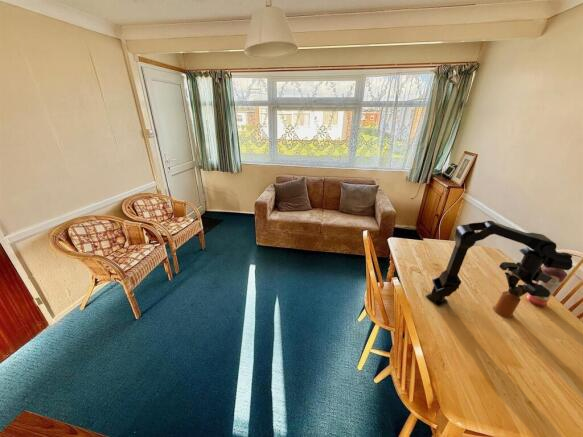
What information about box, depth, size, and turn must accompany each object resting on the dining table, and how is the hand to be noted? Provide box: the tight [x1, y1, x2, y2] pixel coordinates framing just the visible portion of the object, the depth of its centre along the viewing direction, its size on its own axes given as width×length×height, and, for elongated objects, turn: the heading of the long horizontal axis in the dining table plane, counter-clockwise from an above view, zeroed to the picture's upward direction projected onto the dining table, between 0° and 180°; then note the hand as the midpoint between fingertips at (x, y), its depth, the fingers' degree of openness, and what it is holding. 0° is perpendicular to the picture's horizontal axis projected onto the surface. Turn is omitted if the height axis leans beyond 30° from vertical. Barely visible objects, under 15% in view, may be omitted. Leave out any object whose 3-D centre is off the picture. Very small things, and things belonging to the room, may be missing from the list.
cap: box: [507, 285, 518, 296], centre depth 98 cm, size 4×4×2 cm
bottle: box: [493, 290, 522, 318], centre depth 101 cm, size 6×6×13 cm
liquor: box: [526, 251, 568, 307], centre depth 102 cm, size 7×7×28 cm
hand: (514, 293), depth 99 cm, fingers closed on cap, 4 cm apart
